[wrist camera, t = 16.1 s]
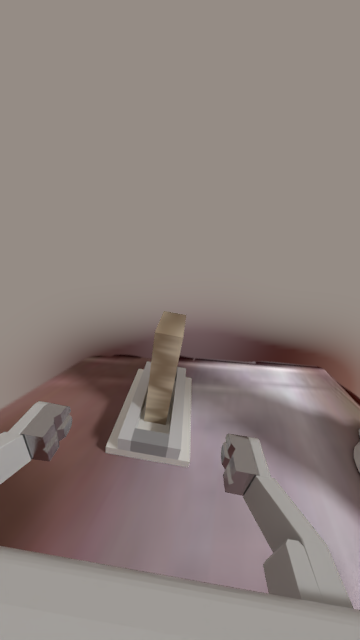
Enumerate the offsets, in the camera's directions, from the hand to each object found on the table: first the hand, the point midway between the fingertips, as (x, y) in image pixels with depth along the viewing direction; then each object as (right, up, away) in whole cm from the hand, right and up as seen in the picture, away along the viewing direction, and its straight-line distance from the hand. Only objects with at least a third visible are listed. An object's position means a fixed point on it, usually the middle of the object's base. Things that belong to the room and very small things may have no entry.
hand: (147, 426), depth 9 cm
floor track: (-2, -8, +19) cm, 21 cm away
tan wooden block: (-2, -7, +18) cm, 20 cm away
